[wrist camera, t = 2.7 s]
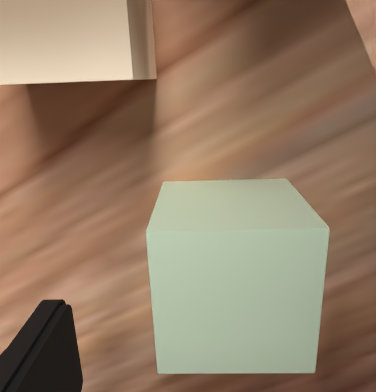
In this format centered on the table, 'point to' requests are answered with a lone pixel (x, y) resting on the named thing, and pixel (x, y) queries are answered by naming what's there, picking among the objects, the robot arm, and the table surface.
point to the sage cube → (236, 277)
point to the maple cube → (76, 41)
